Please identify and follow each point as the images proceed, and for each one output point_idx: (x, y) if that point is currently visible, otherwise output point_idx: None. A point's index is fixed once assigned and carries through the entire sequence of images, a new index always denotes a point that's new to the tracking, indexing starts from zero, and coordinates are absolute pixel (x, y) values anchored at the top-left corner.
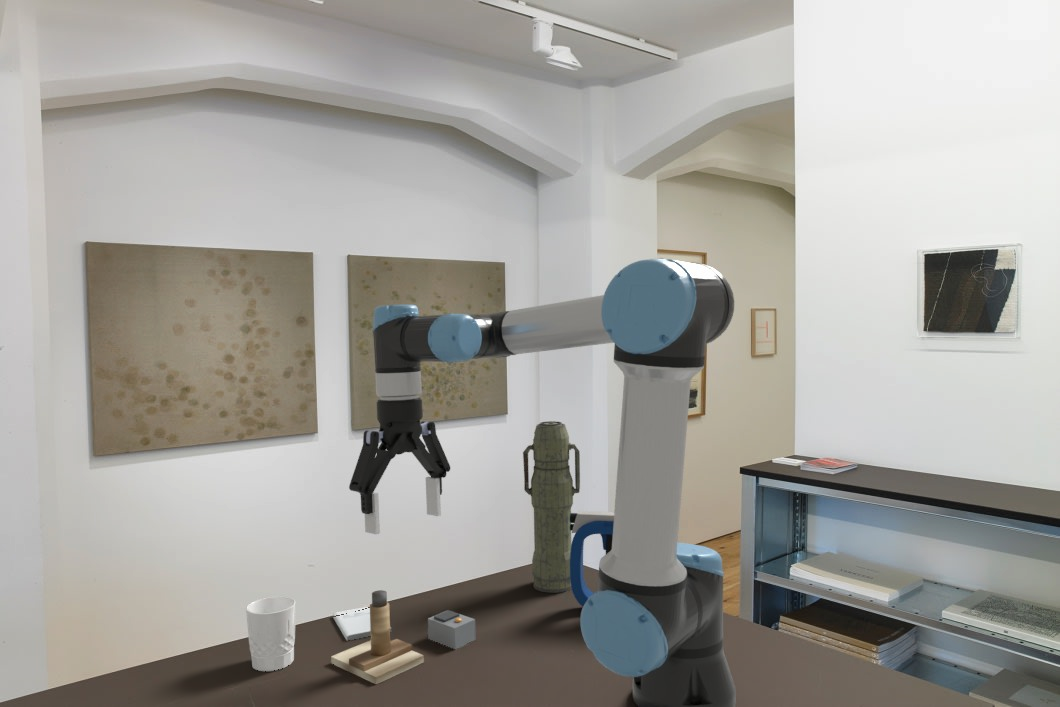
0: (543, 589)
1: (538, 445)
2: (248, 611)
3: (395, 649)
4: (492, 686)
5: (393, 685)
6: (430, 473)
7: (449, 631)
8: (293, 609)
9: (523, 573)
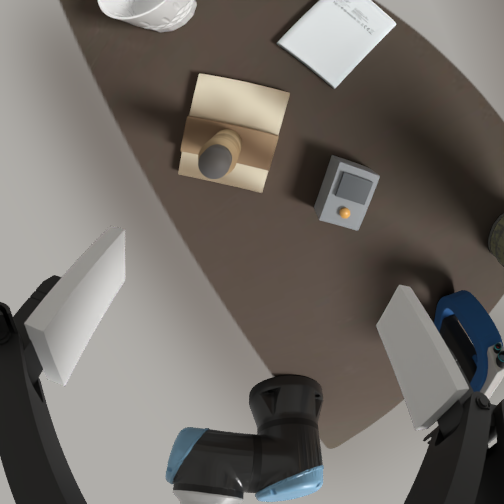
0: (492, 232)
1: None
2: None
3: (244, 158)
4: (242, 288)
5: (189, 191)
6: (464, 412)
7: (321, 206)
8: (152, 13)
9: None
